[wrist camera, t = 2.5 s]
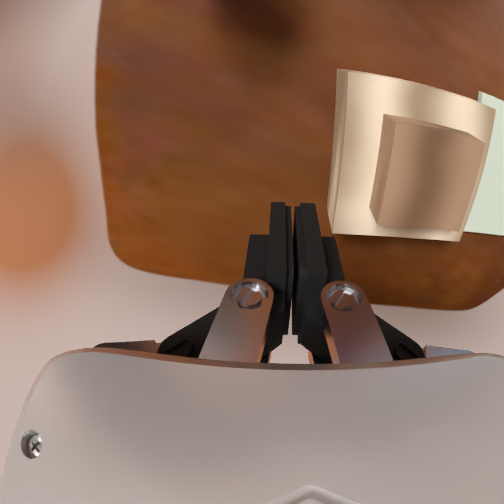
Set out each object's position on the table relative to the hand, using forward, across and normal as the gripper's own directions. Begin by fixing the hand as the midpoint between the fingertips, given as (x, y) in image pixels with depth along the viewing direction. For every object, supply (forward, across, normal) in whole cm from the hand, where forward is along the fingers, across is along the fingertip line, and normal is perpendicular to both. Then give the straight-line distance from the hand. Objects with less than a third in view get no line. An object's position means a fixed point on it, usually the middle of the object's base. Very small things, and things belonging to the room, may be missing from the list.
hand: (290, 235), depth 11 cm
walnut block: (+8, -10, 0) cm, 12 cm away
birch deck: (+13, -10, 0) cm, 16 cm away
